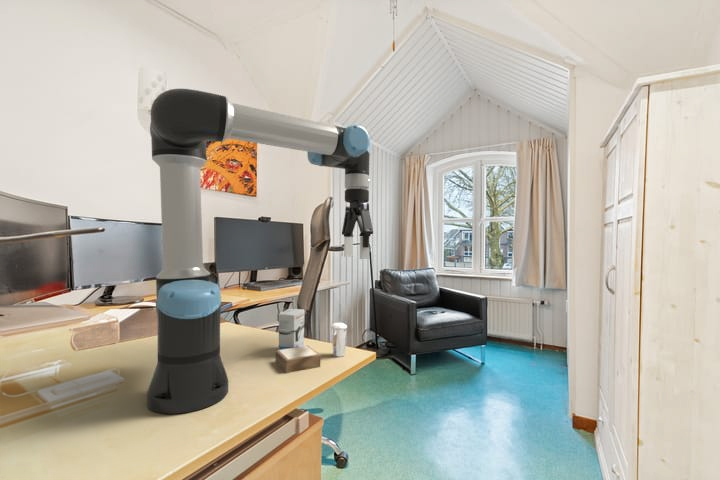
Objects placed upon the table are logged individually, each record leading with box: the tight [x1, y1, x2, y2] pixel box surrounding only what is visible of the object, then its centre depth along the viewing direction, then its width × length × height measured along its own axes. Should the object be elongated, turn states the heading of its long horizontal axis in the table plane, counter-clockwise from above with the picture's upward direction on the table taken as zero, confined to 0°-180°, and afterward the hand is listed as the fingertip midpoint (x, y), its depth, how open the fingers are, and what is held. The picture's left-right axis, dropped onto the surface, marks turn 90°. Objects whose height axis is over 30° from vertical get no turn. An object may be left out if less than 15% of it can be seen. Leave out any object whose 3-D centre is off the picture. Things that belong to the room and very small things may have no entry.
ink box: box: [278, 308, 305, 350], centre depth 101 cm, size 8×5×12 cm, turn 168°
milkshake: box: [330, 322, 350, 358], centre depth 98 cm, size 4×5×10 cm
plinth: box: [275, 345, 321, 374], centre depth 91 cm, size 9×9×3 cm
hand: (355, 257), depth 108 cm, fingers open, 13 cm apart
